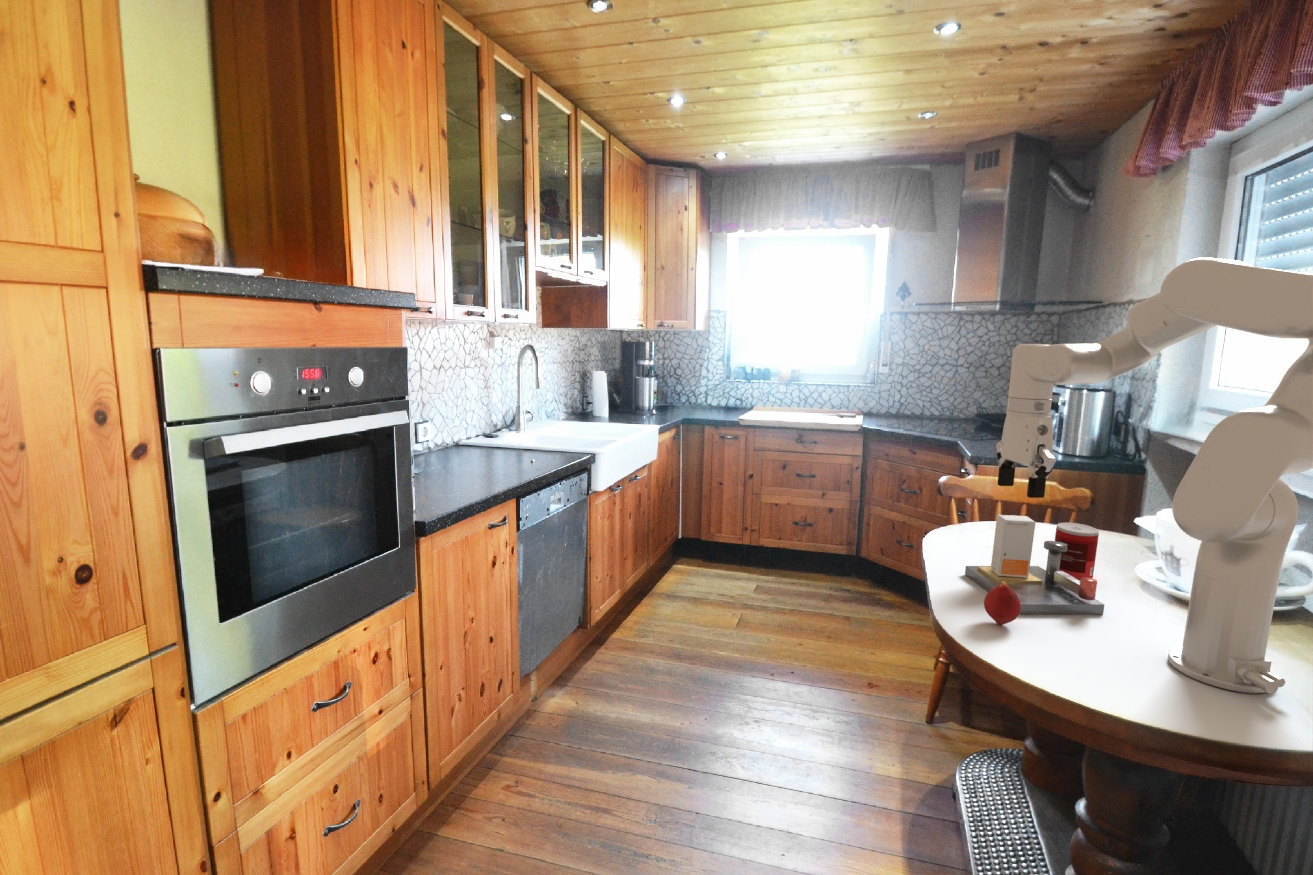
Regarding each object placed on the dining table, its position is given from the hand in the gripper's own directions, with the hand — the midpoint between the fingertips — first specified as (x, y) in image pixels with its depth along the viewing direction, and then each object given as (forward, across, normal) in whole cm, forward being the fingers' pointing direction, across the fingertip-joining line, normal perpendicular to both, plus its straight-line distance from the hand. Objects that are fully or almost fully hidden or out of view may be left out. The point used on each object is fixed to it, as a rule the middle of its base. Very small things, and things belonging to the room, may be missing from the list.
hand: (1019, 491), depth 132 cm
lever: (+17, -10, -7) cm, 21 cm away
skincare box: (+18, 0, 0) cm, 18 cm away
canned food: (+20, +5, -17) cm, 27 cm away
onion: (+20, -17, +13) cm, 30 cm away
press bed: (+20, -4, -2) cm, 21 cm away
